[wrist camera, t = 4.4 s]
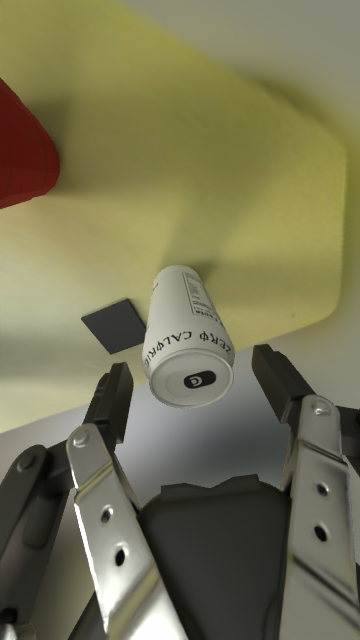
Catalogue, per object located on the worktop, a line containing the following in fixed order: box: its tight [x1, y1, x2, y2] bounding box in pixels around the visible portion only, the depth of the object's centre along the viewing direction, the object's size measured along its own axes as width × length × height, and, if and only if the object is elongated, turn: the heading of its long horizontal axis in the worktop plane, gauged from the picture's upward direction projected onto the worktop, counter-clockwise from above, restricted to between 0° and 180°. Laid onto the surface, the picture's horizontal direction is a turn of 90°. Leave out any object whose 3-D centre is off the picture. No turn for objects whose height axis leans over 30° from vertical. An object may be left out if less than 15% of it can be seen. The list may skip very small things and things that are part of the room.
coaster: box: [81, 299, 146, 355], centre depth 26 cm, size 7×7×1 cm
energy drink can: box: [142, 265, 235, 409], centre depth 17 cm, size 6×6×15 cm
